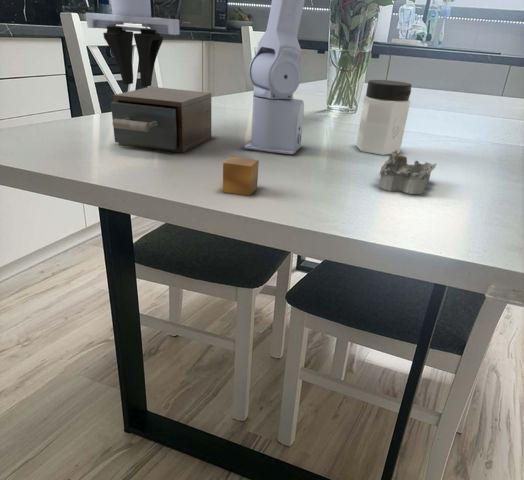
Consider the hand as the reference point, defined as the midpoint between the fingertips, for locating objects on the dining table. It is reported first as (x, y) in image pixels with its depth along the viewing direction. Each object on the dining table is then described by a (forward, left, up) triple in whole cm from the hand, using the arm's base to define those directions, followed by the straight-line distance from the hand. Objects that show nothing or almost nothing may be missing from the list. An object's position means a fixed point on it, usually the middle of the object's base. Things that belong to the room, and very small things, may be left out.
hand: (137, 84), depth 78 cm
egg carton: (-45, -1, -11) cm, 46 cm away
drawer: (0, -5, -10) cm, 11 cm away
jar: (-39, -25, -11) cm, 48 cm away
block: (-22, +13, -10) cm, 28 cm away
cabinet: (0, -10, -10) cm, 15 cm away
